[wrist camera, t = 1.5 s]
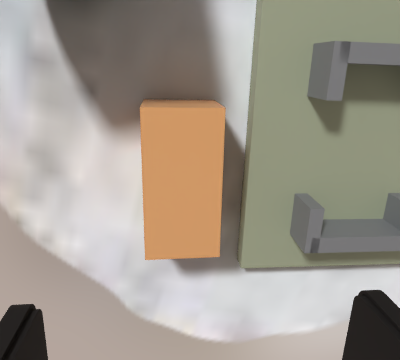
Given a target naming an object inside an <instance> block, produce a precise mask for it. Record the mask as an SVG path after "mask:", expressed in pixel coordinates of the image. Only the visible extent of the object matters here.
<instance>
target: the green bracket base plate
mask: <svg viewBox="0 0 400 360" xmlns="http://www.w3.org/2000/svg"><path fill="white" fill-rule="evenodd" d="M237 260H238V262H239V265H240V267H241V268H269V267H303V266H338V265H372V264H400V0H257V4H256V17H255V30H254V43H253V56H252V70H251V83H250V96H249V109H248V122H247V135H246V148H245V161H244V175H243V188H242V201H241V214H240V227H239V240H238V253H237Z"/></svg>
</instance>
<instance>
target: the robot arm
mask: <svg viewBox="0 0 400 360" xmlns="http://www.w3.org/2000/svg"><path fill="white" fill-rule="evenodd" d="M0 360H48V356H47V348H46V340H45V332H44V323H43V315H42V311H41V310H40V309H36V308H35V306H34V305H33V304H23V305H11V306H10V307H9V308H8V310H7V312H6V313H5V315H4V316H3V318H2V320H1V321H0ZM342 360H400V308H399V307H398V306H397V305H396V304H395V303H394V302H393V301H392V300H391V299H390V298H389V297H388V296H387V295H386V294H385V293H384V292H382V291H381V290H365V291H360V293H359V295H358V296H355V298H354V301H353V306H352V311H351V316H350V322H349V327H348V332H347V337H346V343H345V347H344V353H343V358H342Z"/></svg>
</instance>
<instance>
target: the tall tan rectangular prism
mask: <svg viewBox="0 0 400 360" xmlns="http://www.w3.org/2000/svg"><path fill="white" fill-rule="evenodd" d="M225 109H226V108H225V107H223V106H222V105H221V104H219V103H218V102H216V101H215V100H152V99H144V100H143V102H142V104H141V106H140V126H141V154H142V183H143V211H144V240H145V260H155V259H180V258H206V257H220V232H221V208H222V183H223V158H224V133H225Z"/></svg>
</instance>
